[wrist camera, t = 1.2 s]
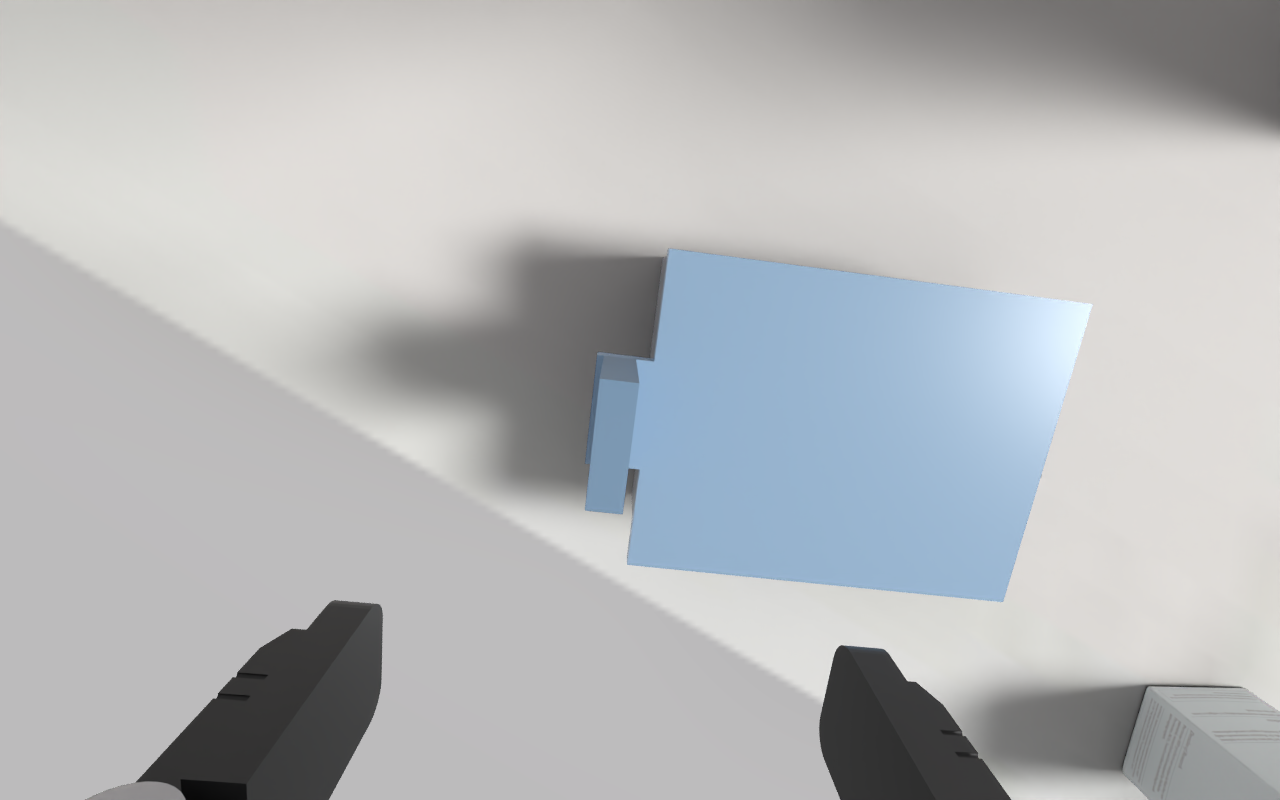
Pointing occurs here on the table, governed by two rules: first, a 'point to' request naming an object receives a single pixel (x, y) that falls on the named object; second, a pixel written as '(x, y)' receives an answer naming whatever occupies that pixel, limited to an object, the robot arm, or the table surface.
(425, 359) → the table surface
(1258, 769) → the supplement box
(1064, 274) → the table surface
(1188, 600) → the table surface
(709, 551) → the tub lid
